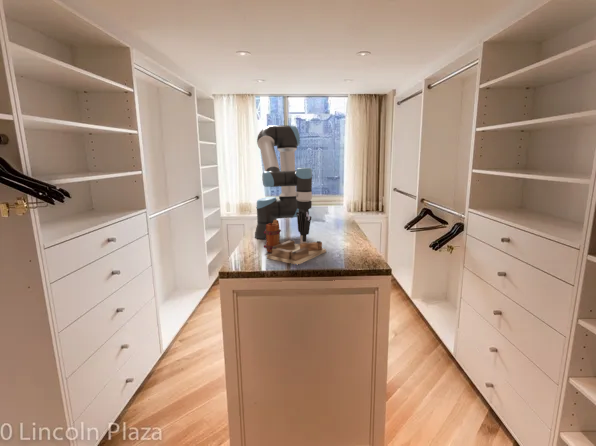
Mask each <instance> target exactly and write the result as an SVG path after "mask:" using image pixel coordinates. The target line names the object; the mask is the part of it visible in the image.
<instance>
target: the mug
mask: <svg viewBox="0 0 596 446" xmlns="http://www.w3.org/2000/svg"><path fill="white" fill-rule="evenodd" d="M281 232H282V230H281V229H280V223H279V220H278V219H277V220H274V221H273V223H272V224H271V223H269V224H267V225H266V230H265V231H264V233H265V234H266V239H265V240H266V243H265V244H264V246H263V247H264V248H265V249H266V252H267V253H269V254H271V253H272V249H273V246H275V245H278V244H281V243H282V242H281V241H280V236H279V233H280V234H281Z"/></svg>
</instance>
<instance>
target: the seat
mask: <svg viewBox="0 0 596 446" xmlns="http://www.w3.org/2000/svg"><path fill="white" fill-rule="evenodd" d="M280 243H281V244H278V245H275V246H273V249H272V253H268V254H266V259H269V260H273V261H278V262H283V263H287V264H290V263H291V265H295V264H297V265H296V266H299V265H301V264H303V263H305V262H307V261H310V260H312V259H314V258H316V257H318V256H320V255H322V254H325V253H327V248H324V247H322V250H313V251H309V248H305V247H304V248H302V249H300V243H296V241H295V239H289V240H287V241H284V242H280ZM298 264H299V265H298Z"/></svg>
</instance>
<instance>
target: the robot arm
mask: <svg viewBox="0 0 596 446" xmlns="http://www.w3.org/2000/svg"><path fill="white" fill-rule="evenodd" d="M256 138H257V139H256V144H257V147H258V148H259V150H260V154H261V159H262V163H263V168H264V171H263V172H262V175H261V176H262V177H261V179H262V185H263V187H265V188H267V187H268V188H269V187H270V188H277V187H281V188H280V189H281V190H280V191H281V192H280V194H279V196H278V198H277V197H276V196H266V197H261V198H259V199H258V200H256V206H255V207H256V222H257V223H256V227H255V232H254V238H256V239H259V240H266V234H265V233H264V231H265V230H266V225H267V224H269V223H271V224H272V223H273V221H274V220H278V219H294V218H296V221H297V230H298V231H297V232H298V233H299V234H300V235H299V236H300V238H299V240H300V243H307V235H309V234H310V227H311V220H312V216H311V215H310V211H309V210H311V209H312V204H313V202H312V198H313V197H312V196H313V195H312V194H313V192H312V190H313V189H312V188H313V170H312V168H311V167H297V168H296V157H295V154H296V153H295V152H296V151H297V149H298V147H299V146H300V144H301V143H300V141H301V139H300V138H301V137H300V132H299V129H298V127H297V126H296V125H289V124H288V125H283V124H282V125H268V126H265V127H264V128H262V130H260V131H259V133H258V135H257V137H256ZM275 147H276V149H277V151H278V152H279V159H280V166H279V162H278V158H277V153H276V151H275V150H276V149H275ZM279 237H281V232H280V233H279ZM300 243H299V244H300Z"/></svg>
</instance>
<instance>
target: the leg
mask: <svg viewBox="0 0 596 446" xmlns="http://www.w3.org/2000/svg"><path fill="white" fill-rule="evenodd" d="M299 244H300V249H302V248H304V247H305V248H309V251H313V250H322V248H323V242H322V241H321V240H318V241H313V242H306V243H299Z"/></svg>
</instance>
